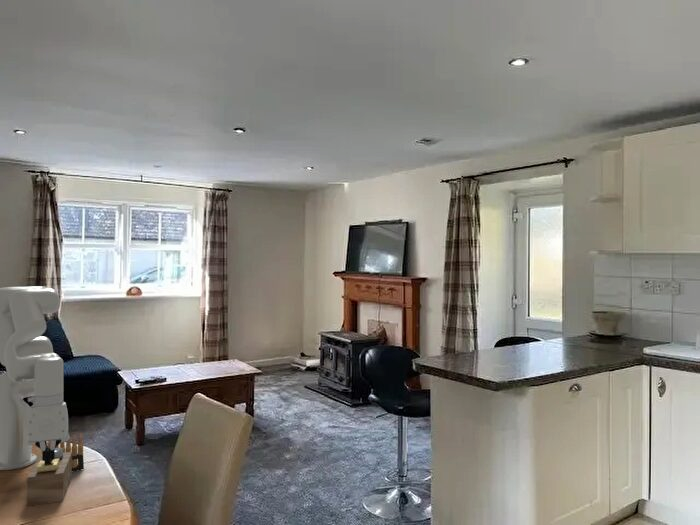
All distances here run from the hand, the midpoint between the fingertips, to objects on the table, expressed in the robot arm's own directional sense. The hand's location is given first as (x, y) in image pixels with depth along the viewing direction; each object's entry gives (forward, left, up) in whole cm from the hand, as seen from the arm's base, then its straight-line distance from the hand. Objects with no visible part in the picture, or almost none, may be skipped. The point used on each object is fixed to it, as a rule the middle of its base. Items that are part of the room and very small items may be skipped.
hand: (48, 462), depth 152 cm
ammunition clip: (-19, +2, -10) cm, 21 cm away
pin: (-9, 0, -9) cm, 13 cm away
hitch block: (-5, 0, -10) cm, 11 cm away
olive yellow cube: (0, 0, -5) cm, 5 cm away
